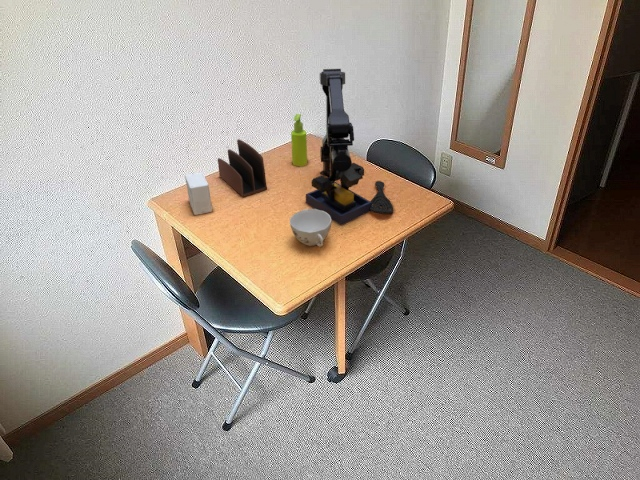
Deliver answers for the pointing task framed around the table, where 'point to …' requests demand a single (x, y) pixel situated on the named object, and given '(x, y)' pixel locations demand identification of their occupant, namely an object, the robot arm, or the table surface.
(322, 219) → the teacup
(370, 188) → the table surface
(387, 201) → the hairbrush
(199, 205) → the cosmetics box
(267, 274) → the table surface
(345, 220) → the blue tray
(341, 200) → the duster
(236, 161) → the letter holder
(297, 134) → the soap dispenser
